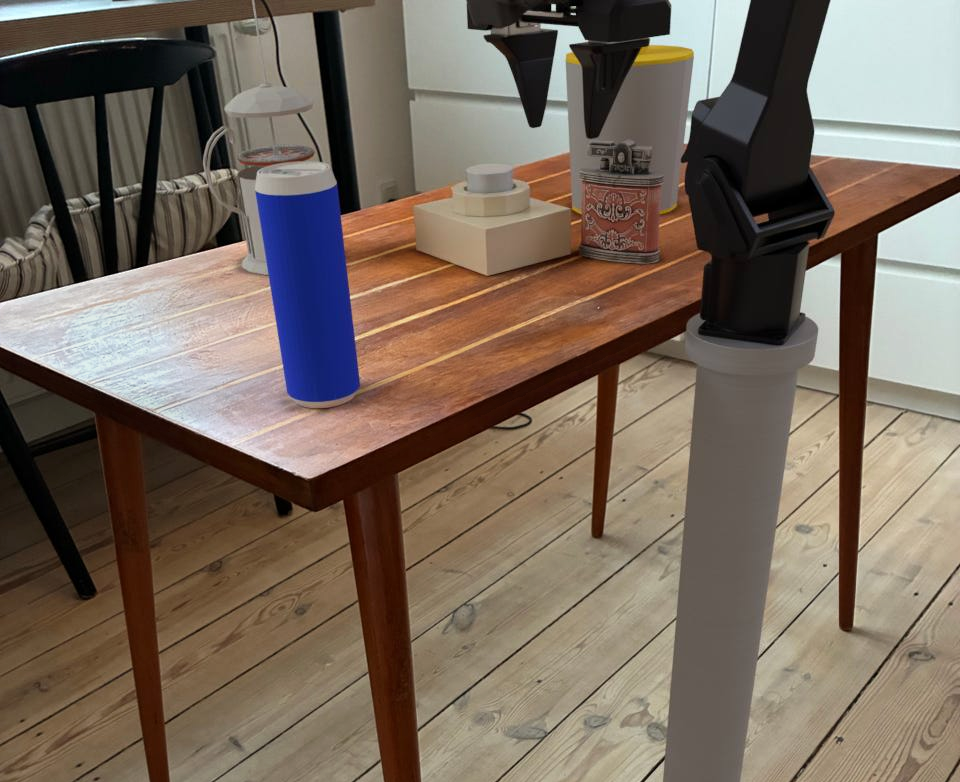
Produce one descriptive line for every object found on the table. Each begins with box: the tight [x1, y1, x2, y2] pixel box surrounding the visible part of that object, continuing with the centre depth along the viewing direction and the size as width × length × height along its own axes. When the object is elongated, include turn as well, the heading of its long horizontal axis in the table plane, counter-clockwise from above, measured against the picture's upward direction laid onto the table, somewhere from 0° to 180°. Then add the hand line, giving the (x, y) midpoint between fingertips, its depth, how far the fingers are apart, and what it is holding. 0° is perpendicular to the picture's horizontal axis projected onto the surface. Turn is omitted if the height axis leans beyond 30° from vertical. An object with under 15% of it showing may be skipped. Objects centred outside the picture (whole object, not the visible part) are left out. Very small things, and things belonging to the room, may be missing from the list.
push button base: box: [412, 178, 572, 277], centre depth 100 cm, size 12×10×6 cm
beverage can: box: [255, 160, 361, 409], centre depth 69 cm, size 5×5×15 cm
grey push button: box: [465, 163, 514, 194], centre depth 97 cm, size 4×4×2 cm
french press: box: [202, 0, 315, 276], centre depth 94 cm, size 10×12×25 cm
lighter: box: [578, 140, 664, 265], centre depth 95 cm, size 8×3×10 cm, turn 57°
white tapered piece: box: [565, 44, 695, 215], centre depth 108 cm, size 13×13×21 cm
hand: (563, 132), depth 87 cm, fingers open, 7 cm apart
